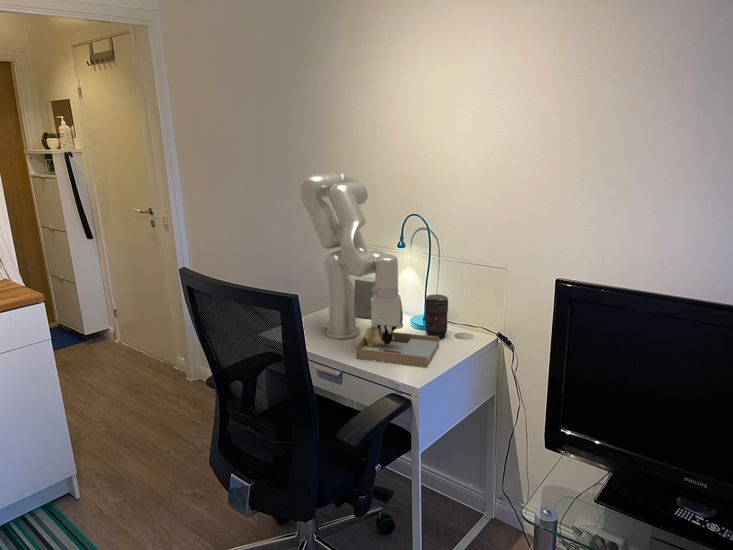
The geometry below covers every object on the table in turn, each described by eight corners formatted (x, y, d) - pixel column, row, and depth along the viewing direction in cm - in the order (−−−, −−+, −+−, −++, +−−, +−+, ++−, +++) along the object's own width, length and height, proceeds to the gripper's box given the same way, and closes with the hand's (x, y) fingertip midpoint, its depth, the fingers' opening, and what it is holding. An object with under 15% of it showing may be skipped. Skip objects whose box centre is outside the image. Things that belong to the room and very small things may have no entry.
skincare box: (353, 317, 228) (352, 279, 223) (360, 311, 234) (359, 275, 230) (373, 319, 224) (372, 281, 220) (379, 314, 231) (379, 276, 226)
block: (368, 347, 193) (363, 333, 192) (372, 341, 197) (367, 328, 196) (381, 343, 191) (376, 330, 190) (385, 338, 195) (380, 325, 195)
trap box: (356, 358, 188) (356, 344, 187) (374, 339, 205) (373, 326, 203) (426, 367, 180) (426, 352, 179) (439, 346, 197) (439, 332, 195)
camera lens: (446, 340, 201) (447, 301, 197) (424, 339, 203) (424, 300, 199) (448, 332, 209) (448, 294, 205) (426, 331, 210) (426, 293, 206)
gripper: (362, 293, 187) (363, 344, 192) (405, 296, 182) (405, 349, 187) (369, 286, 194) (370, 336, 199) (411, 290, 189) (411, 341, 194)
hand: (387, 342), depth 193 cm, fingers closed
